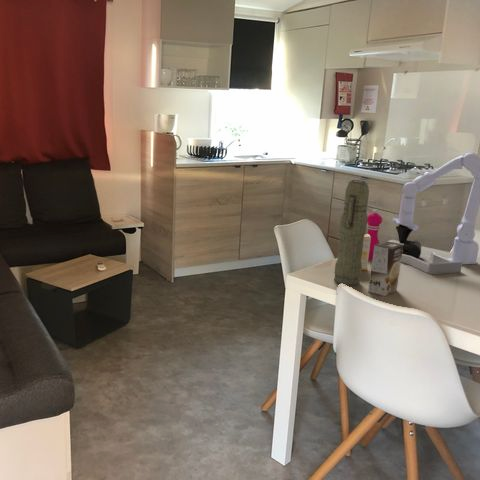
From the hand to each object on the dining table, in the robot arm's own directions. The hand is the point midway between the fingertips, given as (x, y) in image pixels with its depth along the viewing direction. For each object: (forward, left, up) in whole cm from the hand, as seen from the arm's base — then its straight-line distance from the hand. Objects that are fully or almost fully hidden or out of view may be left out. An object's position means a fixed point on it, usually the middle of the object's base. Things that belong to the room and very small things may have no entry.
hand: (402, 243), depth 226 cm
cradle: (0, +18, -4) cm, 19 cm away
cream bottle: (+32, +14, -5) cm, 35 cm away
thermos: (+44, +27, -5) cm, 52 cm away
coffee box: (+37, +38, -5) cm, 53 cm away
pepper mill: (+18, +3, -5) cm, 19 cm away
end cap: (0, +7, -5) cm, 8 cm away
